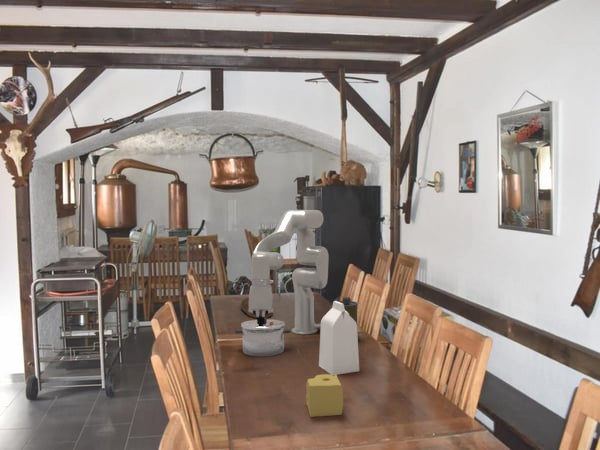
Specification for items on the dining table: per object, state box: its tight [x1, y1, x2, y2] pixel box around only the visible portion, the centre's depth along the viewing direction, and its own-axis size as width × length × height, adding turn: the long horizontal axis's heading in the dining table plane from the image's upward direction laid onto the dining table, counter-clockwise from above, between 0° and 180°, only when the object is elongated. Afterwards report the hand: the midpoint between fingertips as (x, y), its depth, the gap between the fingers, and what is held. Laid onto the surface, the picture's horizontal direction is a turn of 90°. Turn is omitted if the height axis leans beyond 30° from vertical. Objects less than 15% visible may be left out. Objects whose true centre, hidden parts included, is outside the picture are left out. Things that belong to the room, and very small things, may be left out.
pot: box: [235, 326, 292, 357], centre depth 235 cm, size 24×18×10 cm
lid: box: [240, 318, 286, 330], centre depth 235 cm, size 19×20×3 cm
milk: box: [318, 300, 360, 376], centre depth 210 cm, size 12×12×26 cm
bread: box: [240, 296, 273, 319], centre depth 310 cm, size 16×36×8 cm, turn 18°
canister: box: [338, 296, 359, 325], centre depth 249 cm, size 11×10×20 cm
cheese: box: [305, 373, 344, 418], centre depth 170 cm, size 10×11×10 cm
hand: (260, 325), depth 229 cm, fingers closed
